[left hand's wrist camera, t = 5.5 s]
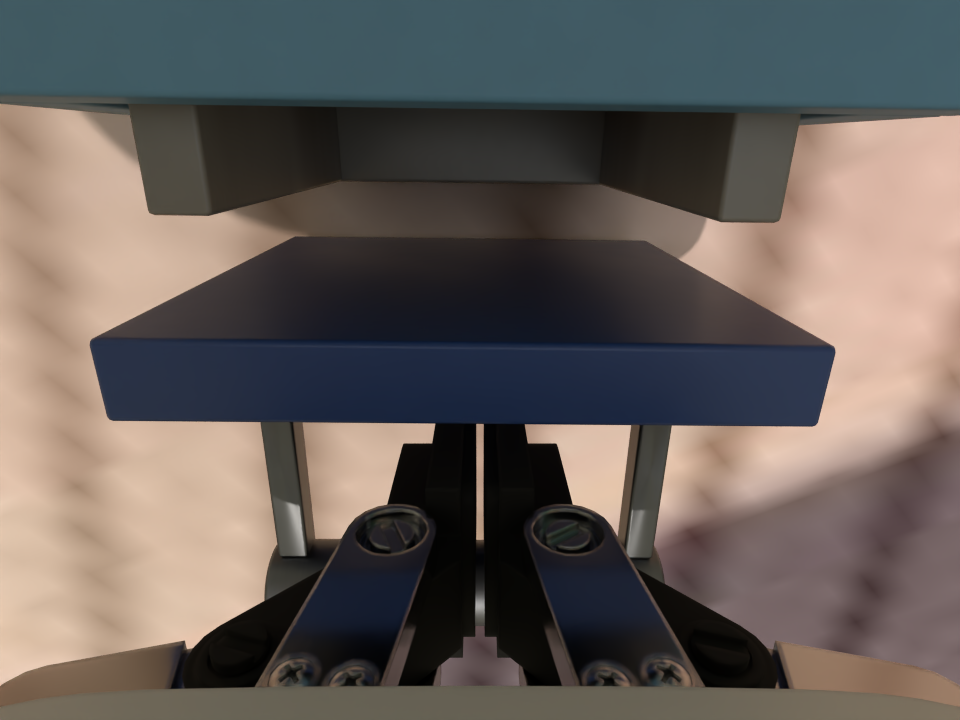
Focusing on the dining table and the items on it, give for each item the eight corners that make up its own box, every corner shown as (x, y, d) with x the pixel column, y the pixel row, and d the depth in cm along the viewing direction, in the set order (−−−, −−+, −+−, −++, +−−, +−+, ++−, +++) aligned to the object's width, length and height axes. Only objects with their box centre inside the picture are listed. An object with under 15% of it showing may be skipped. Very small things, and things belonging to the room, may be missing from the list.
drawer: (621, 462, 18) (743, 728, 10) (316, 459, 18) (181, 726, 10) (712, -318, 12) (1303, -1475, 3) (234, -330, 11) (-385, -1552, 3)
